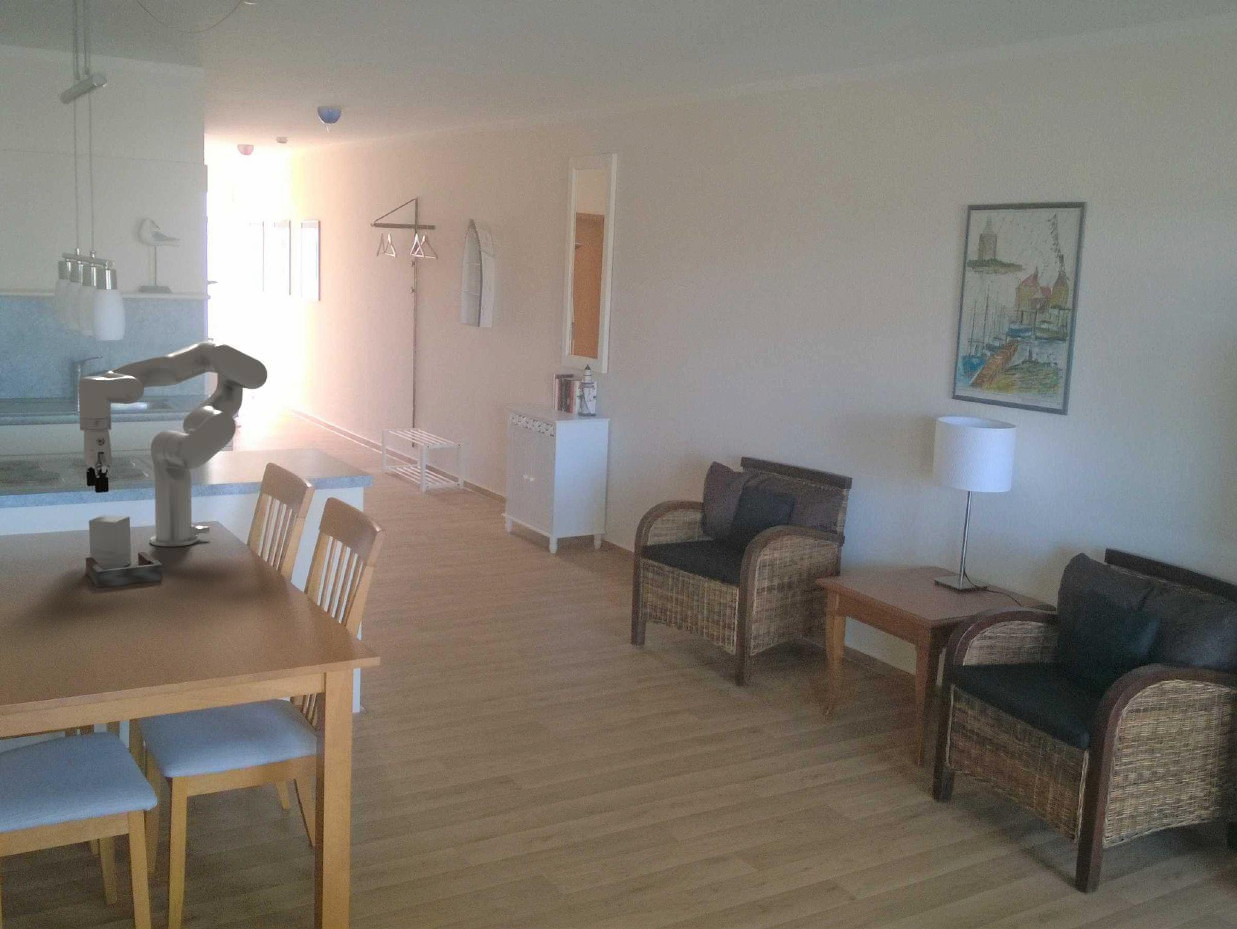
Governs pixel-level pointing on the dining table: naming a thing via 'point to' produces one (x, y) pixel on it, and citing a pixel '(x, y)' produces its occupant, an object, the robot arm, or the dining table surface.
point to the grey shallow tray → (125, 572)
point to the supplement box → (110, 541)
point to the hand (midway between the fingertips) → (97, 488)
